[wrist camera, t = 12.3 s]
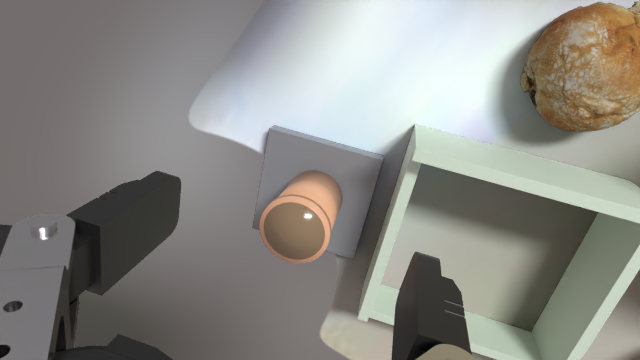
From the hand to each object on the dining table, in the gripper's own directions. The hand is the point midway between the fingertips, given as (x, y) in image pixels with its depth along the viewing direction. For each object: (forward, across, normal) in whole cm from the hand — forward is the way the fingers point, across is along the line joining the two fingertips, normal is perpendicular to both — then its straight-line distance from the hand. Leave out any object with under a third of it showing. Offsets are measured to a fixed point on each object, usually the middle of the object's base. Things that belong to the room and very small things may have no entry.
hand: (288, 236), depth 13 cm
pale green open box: (+28, -15, +12) cm, 34 cm away
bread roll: (+29, -17, -7) cm, 34 cm away
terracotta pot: (+26, +3, +12) cm, 29 cm away
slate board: (+28, +3, +12) cm, 30 cm away
